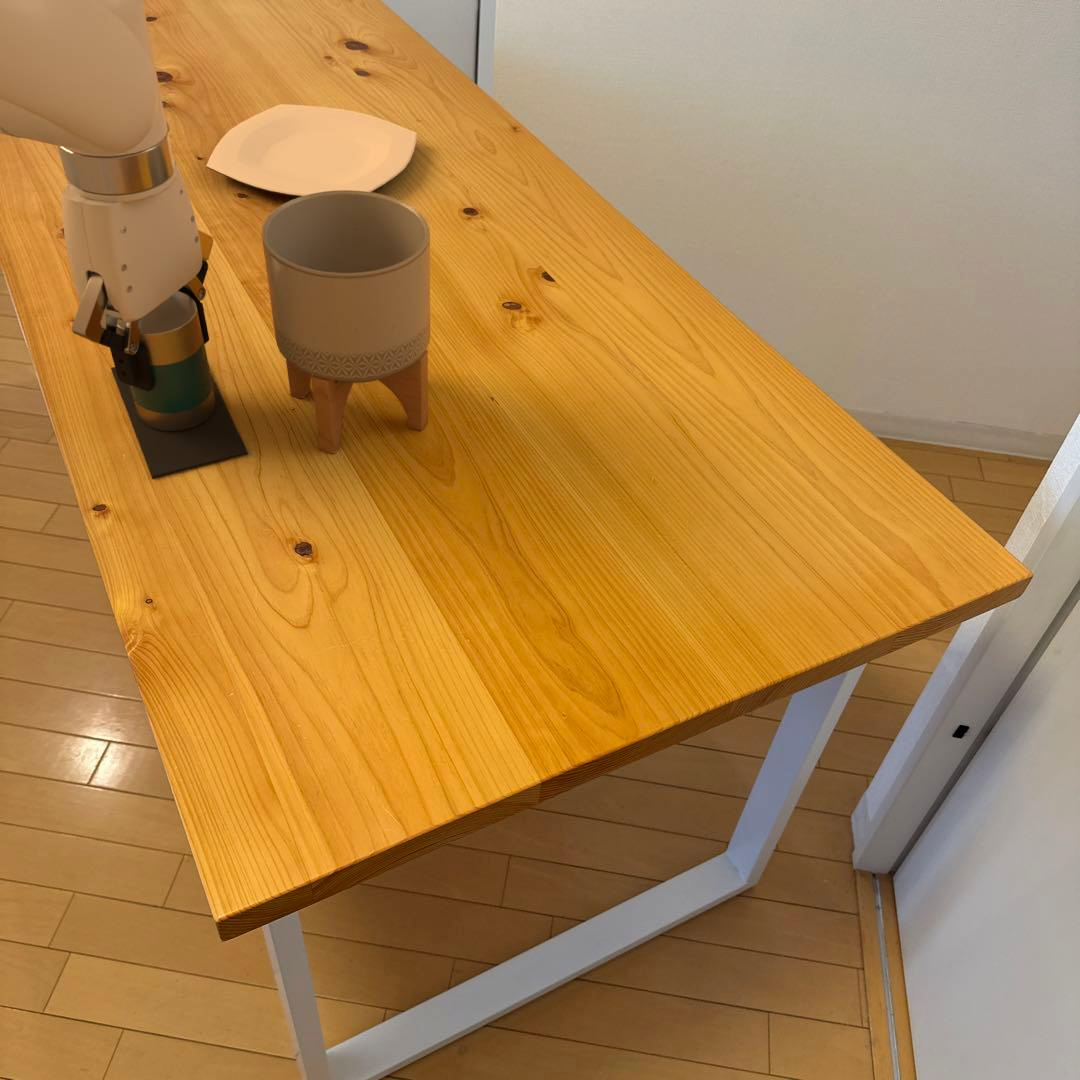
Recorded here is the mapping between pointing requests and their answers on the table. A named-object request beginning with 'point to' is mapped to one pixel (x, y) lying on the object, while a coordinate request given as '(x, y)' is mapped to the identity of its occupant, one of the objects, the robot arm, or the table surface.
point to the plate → (313, 151)
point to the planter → (350, 300)
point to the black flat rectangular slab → (185, 438)
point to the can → (174, 367)
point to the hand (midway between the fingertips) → (165, 359)
